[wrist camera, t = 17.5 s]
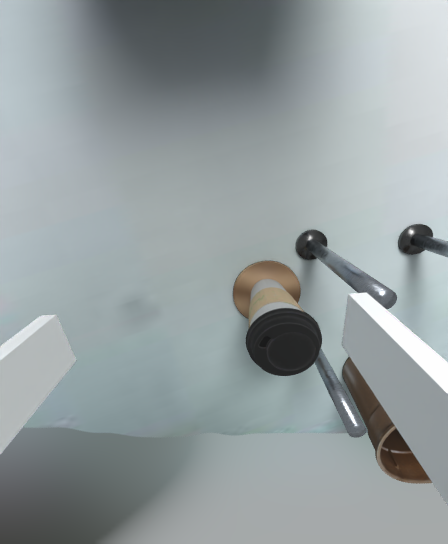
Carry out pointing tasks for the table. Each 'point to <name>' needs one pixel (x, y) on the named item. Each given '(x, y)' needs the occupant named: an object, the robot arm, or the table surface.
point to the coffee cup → (280, 331)
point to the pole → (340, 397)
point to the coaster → (261, 272)
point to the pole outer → (421, 241)
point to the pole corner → (343, 268)
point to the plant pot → (383, 431)
